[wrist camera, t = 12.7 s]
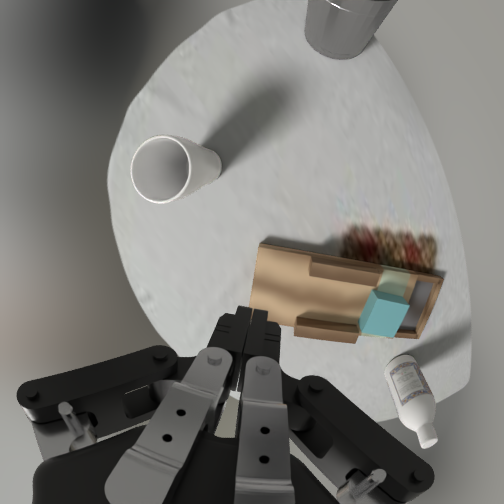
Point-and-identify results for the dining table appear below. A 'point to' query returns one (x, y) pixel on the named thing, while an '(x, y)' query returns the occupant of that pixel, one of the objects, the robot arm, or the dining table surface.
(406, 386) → the bath foam
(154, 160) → the drinking glass
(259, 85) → the dining table surface
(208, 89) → the dining table surface
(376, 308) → the block
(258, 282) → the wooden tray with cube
